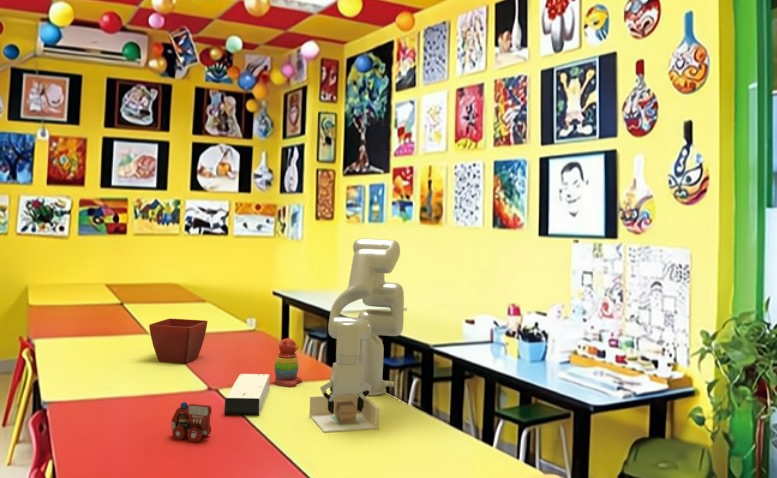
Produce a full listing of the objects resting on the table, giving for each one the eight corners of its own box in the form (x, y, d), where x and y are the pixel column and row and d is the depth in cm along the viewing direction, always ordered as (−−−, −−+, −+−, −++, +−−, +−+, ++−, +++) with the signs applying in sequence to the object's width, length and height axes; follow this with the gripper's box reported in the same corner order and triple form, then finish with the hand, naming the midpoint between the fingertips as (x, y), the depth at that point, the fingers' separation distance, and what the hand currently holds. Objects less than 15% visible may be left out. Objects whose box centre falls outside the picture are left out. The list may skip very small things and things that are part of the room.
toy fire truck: (179, 431, 204) (180, 397, 203) (216, 436, 200) (217, 402, 200) (165, 438, 197) (166, 403, 197) (203, 444, 194) (204, 408, 193)
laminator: (258, 417, 223) (259, 398, 222) (220, 416, 222) (221, 397, 221) (269, 390, 256) (269, 374, 256) (236, 389, 255) (236, 373, 255)
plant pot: (146, 362, 292) (147, 324, 291) (168, 354, 311) (169, 317, 310) (188, 366, 289) (189, 327, 288) (207, 357, 308) (208, 320, 307)
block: (355, 423, 216) (356, 406, 216) (340, 424, 215) (341, 407, 215) (349, 416, 224) (350, 399, 224) (334, 416, 223) (335, 400, 222)
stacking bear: (294, 387, 260) (295, 341, 260) (269, 385, 262) (271, 339, 262) (303, 381, 271) (305, 337, 270) (279, 379, 273) (281, 335, 272)
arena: (360, 412, 231) (361, 393, 231) (378, 428, 215) (379, 407, 214) (309, 415, 225) (310, 396, 225) (323, 432, 208) (324, 411, 208)
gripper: (368, 356, 225) (366, 406, 226) (318, 357, 219) (316, 410, 220) (376, 360, 218) (374, 413, 219) (324, 362, 212) (322, 416, 213)
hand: (345, 411), depth 219 cm, fingers open, 9 cm apart
